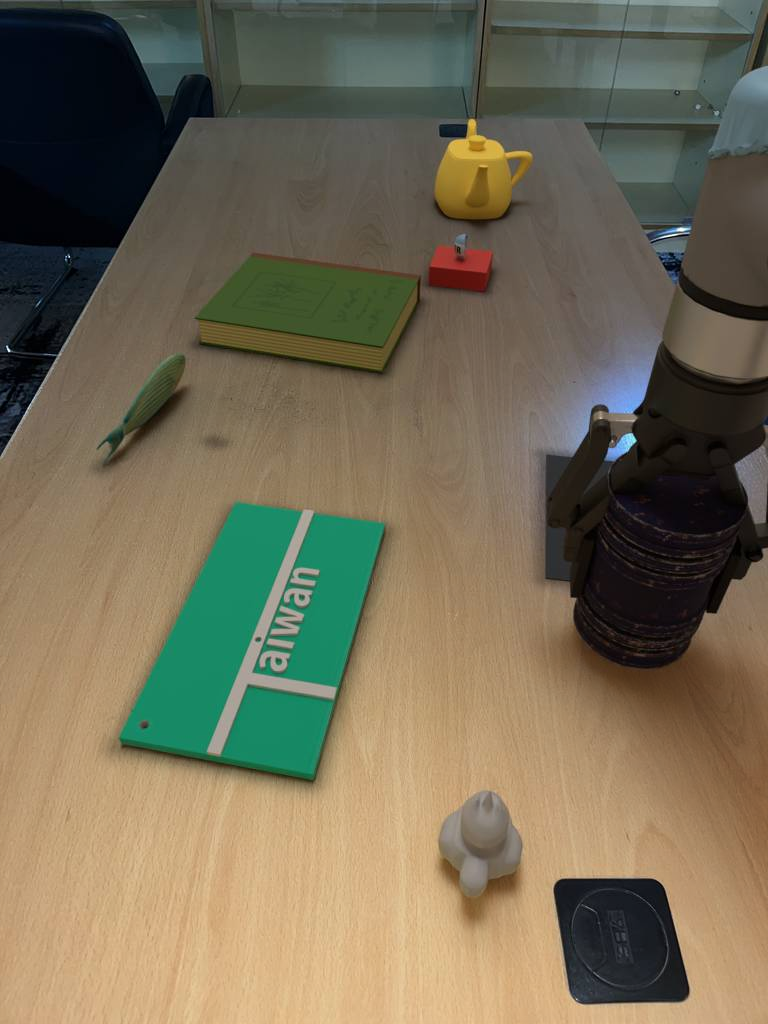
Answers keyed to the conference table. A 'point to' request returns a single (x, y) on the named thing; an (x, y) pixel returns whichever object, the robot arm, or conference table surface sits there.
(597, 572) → the rusty barrel
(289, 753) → the sign
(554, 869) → the conference table surface
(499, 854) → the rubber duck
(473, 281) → the red rectangular block
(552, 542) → the mat
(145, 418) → the decorative fish
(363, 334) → the book
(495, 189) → the teapot
